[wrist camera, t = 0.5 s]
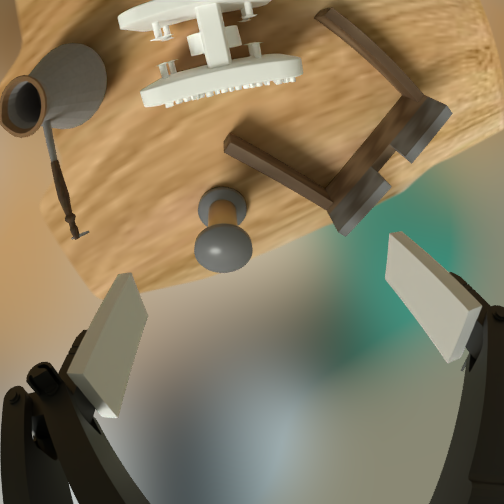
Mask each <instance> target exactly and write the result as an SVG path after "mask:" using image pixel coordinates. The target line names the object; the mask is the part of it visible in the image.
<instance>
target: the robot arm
mask: <svg viewBox="0 0 504 504" xmlns="http://www.w3.org/2000/svg"><path fill="white" fill-rule="evenodd" d="M385 279H386V281H387V282H388V283H389V284H390V286H391V287H392V288H393V289H394V291H395V292H396V293H397V295H398V296H399V297H400V298H401V300H402V301H403V302H404V304H405V305H406V306H407V308H408V309H409V310H410V311H411V313H412V314H413V315H414V317H415V318H416V320H417V321H418V322H419V324H420V325H421V326H422V328H423V329H424V330H425V332H426V333H427V335H428V336H429V337H430V339H431V340H432V342H433V343H434V345H435V346H436V347H437V349H438V350H439V352H440V353H441V355H442V356H443V358H444V359H445V361H446V362H447V363H450V362H452V361H454V360H457V359H459V358H461V356H462V353H463V351H464V349H465V347H466V348H467V350H468V351H469V355H468V357H467V359H466V361H465V363H464V365H463V367H462V369H461V371H463V370H464V368H465V367H466V370H465V377H464V384H463V390H462V396H461V402H460V407H459V412H458V416H457V420H456V425H455V429H454V433H453V437H452V440H451V444H450V448H449V451H448V454H447V457H446V461H445V464H444V467H443V470H442V473H441V475H440V478H439V481H438V484H437V486H436V489H435V491H434V494H433V496H432V499H431V501H430V503H429V504H504V307H501V306H496V305H494V306H490V305H489V304H488V303H487V302H486V301H485V300H484V299H483V298H482V297H481V296H480V295H479V294H478V293H477V292H476V291H475V290H473V289H472V287H471V286H470V285H469V284H468V285H467V283H466V281H464V280H463V279H462V278H461V277H460V276H458V275H456V274H454V273H452V272H447V271H446V270H445V269H444V268H443V267H442V266H441V265H440V264H439V263H438V262H437V261H435V260H434V259H433V258H432V257H431V256H430V255H429V254H428V253H426V252H425V251H424V250H423V249H422V248H420V247H419V246H418V245H417V244H416V243H415V242H414V241H413V240H411V239H410V238H409V237H407V236H406V235H405V234H404V233H403V232H395V233H390V234H389V247H388V257H387V267H386V275H385ZM147 318H148V314H147V312H146V309H145V307H144V304H143V302H142V299H141V297H140V294H139V291H138V289H137V286H136V284H135V281H134V278H133V276H132V273H124V274H118V276H117V277H116V279H115V281H114V283H113V284H112V286H111V288H110V289H109V291H108V293H107V295H106V297H105V298H104V300H103V302H102V304H101V306H100V307H99V309H98V311H97V313H96V315H95V317H94V319H93V321H92V322H91V324H90V326H89V328H88V330H83V331H82V332H81V333H80V334H79V335H78V337H76V339H75V341H74V343H73V345H72V348H70V351H69V354H68V355H67V357H66V359H65V361H64V363H63V365H62V367H61V369H60V371H59V373H57V372H56V370H55V369H54V367H53V366H52V365H51V364H50V363H48V362H41V363H39V364H37V365H35V366H34V367H33V368H32V369H31V370H30V371H29V373H28V375H27V380H26V381H27V383H28V384H29V385H30V387H31V388H32V389H33V390H34V391H35V392H34V393H29V394H28V393H27V392H26V391H25V390H24V388H23V387H21V386H15V387H13V388H11V389H10V390H9V391H8V392H7V393H6V395H5V397H4V402H3V411H2V424H1V481H2V493H3V503H4V504H73V500H72V496H71V492H70V488H69V484H70V486H71V488H72V490H73V492H74V495H75V497H76V499H77V501H78V503H79V504H150V503H149V501H148V500H147V499H146V497H145V496H144V495H143V493H142V492H141V491H140V489H139V488H138V487H137V485H136V484H135V483H134V481H133V480H132V478H131V477H130V475H129V474H128V472H127V471H126V469H125V468H124V466H123V465H122V463H121V461H120V460H119V458H118V457H117V455H116V453H115V452H114V450H113V448H112V447H111V445H110V443H109V442H108V440H107V438H106V436H105V434H104V433H103V431H102V429H101V427H100V425H99V424H98V422H97V420H96V419H95V418H94V417H93V415H94V412H95V409H96V410H97V412H98V413H99V414H100V415H101V416H102V417H109V418H118V417H119V413H120V409H121V405H122V401H123V397H124V394H125V390H126V386H127V383H128V379H129V375H130V372H131V369H132V365H133V362H134V359H135V355H136V352H137V349H138V345H139V342H140V339H141V336H142V333H143V330H144V327H145V324H146V321H147ZM32 434H33V437H32ZM68 482H69V483H68Z"/></svg>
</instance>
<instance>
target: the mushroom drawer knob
mask: <svg viewBox="0 0 504 504" xmlns="http://www.w3.org/2000/svg"><path fill="white" fill-rule="evenodd" d="M198 214H199V217H200V219H201V221H202V222H203V223H204V224H205V225H206V226H207V228H205V229H204V230H203V231H202V232H201V233H200V234H199V235H198V237H197V238H196V241H195V249H194V253H195V257H196V259H197V261H198V262H199V263H200V264H201V265H202V266H203V267H204V268H206V269H208V270H210V271H213V272H219V273H227V272H232V271H236V270H238V269H240V268H242V267H243V266H244V265H246V264H247V263H248V261H249V260H250V258H251V256H252V243H251V239H250V237H249V235H248V234H247V232H246V231H244V230H243V229H242V228H240V227H238V225H239V224H241V222H242V221H243V220H244V218H245V216H246V203H245V200H244V198H243V196H242V195H241V194H240V193H239V192H238V191H236V190H235V189H232V188H229V187H216V188H213V189H211V190H209V191H207V192H206V193H205V194H204V195H203V196H202V197H201V199H200V202H199V207H198Z"/></svg>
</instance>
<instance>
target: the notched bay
mask: <svg viewBox="0 0 504 504" xmlns="http://www.w3.org/2000/svg"><path fill="white" fill-rule="evenodd" d="M315 19H316V20H317V21H319V22H320V23H322V24H323V25H324V26H326V27H327V28H328V29H330V30H331V31H332V32H334V33H335V34H336V35H337V36H339V37H340V38H341V39H342V40H344V41H345V42H346V43H347V44H349V45H350V46H351V47H352V48H353V49H355V50H356V51H357V52H358V53H359V54H360V55H361V56H363V57H364V58H365V59H366V60H367V61H368V62H369V63H370V64H371V65H373V66H374V67H375V68H376V69H377V70H378V71H379V72H380V73H381V74H382V75H383V76H384V77H385V78H386V79H387V80H388V81H389V82H390V83H391V84H392V85H393V86H394V87H395V88H396V89H397V90H398V91H399V92H400V93H401V94H402V97H401V98H400V99H399V100H398V102H397V103H396V104H395V105H394V106H393V108H392V109H391V110H390V111H389V113H388V114H387V115H386V116H385V117H384V119H383V120H382V121H381V122H380V124H379V125H378V126H377V127H376V128H375V130H374V131H373V132H372V133H371V135H370V136H369V137H368V138H367V139H366V141H365V142H364V143H363V144H362V145H361V147H360V148H359V149H358V150H357V151H356V153H355V154H354V155H353V156H352V157H351V159H350V160H349V161H348V162H347V163H346V165H345V166H344V167H343V168H342V169H341V171H340V172H339V173H338V174H337V175H336V177H335V178H334V179H333V180H332V181H331V183H330V184H329V185H328V186H327V187H326V189H324V188H323V187H321V186H320V185H318V184H317V183H315V182H313V181H312V180H310V179H309V178H307V177H306V176H304V175H302V174H301V173H299V172H297V171H296V170H294V169H293V168H291V167H289V166H288V165H286V164H284V163H283V162H281V161H279V160H278V159H276V158H274V157H273V156H271V155H269V154H267V153H266V152H264V151H262V150H260V149H259V148H257V147H255V146H253V145H252V144H250V143H248V142H246V141H244V140H243V139H241V138H239V137H237V136H235V135H233V134H232V133H229V134H228V136H227V137H226V139H225V140H224V153H226V154H228V155H230V156H232V157H233V158H235V159H237V160H239V161H241V162H243V163H245V164H247V165H249V166H250V167H252V168H254V169H256V170H258V171H260V172H261V173H263V174H265V175H267V176H269V177H270V178H272V179H274V180H276V181H277V182H279V183H281V184H283V185H284V186H286V187H288V188H290V189H291V190H293V191H295V192H297V193H298V194H300V195H302V196H303V197H305V198H307V199H308V200H310V201H312V202H313V203H315V204H317V205H318V206H320V207H322V208H323V209H325V210H327V212H328V214H329V216H330V218H331V219H332V221H333V223H334V225H335V227H336V229H337V231H338V232H339V233H341V234H342V235H344V236H347V235H348V234H349V233H350V232H351V231H352V230H353V229H354V228H355V226H356V225H357V224H358V223H359V222H360V221H361V220H362V219H363V218H364V217H365V216H366V215H367V214H368V212H369V211H370V210H371V209H372V208H373V207H374V206H375V205H376V204H377V203H378V201H379V200H380V199H381V198H382V197H383V196H384V195H385V194H386V193H387V191H388V190H389V189H390V188H391V187H392V186H391V185H390V184H389V183H388V182H387V181H386V180H385V179H384V178H383V177H382V176H381V175H380V174H379V173H378V171H379V170H380V169H381V168H382V167H383V166H384V164H385V163H386V162H387V161H388V160H389V158H390V157H391V156H392V155H393V154H394V153H395V151H397V152H398V153H400V154H401V155H402V156H403V157H404V158H406V159H407V160H408V161H409V162H410V163H413V161H414V160H415V159H416V158H417V157H418V156H419V154H420V153H421V152H422V151H423V150H424V148H425V147H426V146H427V145H428V144H429V142H430V141H431V140H432V139H433V137H434V136H435V135H436V134H437V132H438V131H439V130H440V129H441V127H442V126H443V125H444V124H445V122H446V121H447V120H448V119H449V117H450V116H451V115H452V114H453V113H452V112H451V110H450V109H449V108H448V106H447V105H445V104H443V103H441V102H439V101H436V100H434V99H432V98H430V97H427V96H425V95H424V94H423V93H422V92H421V91H420V90H419V89H418V87H417V86H416V85H415V84H414V83H413V82H412V81H411V79H410V78H409V77H408V76H407V75H406V74H405V73H404V72H403V71H402V70H401V69H400V67H399V66H398V65H397V64H396V63H395V62H394V61H393V60H392V59H391V58H390V57H389V56H388V55H387V54H386V53H385V52H384V51H383V50H382V49H381V48H380V47H378V46H377V45H376V44H375V43H374V42H373V41H372V40H371V39H370V38H369V37H368V36H366V35H365V34H364V33H363V32H362V31H361V30H360V29H358V28H357V27H356V26H355V25H354V24H352V23H351V22H350V21H349V20H348V19H346V18H345V17H344V16H343V15H341V14H340V13H339V12H337V11H336V10H335V9H333V8H332V7H331V8H327V9H324V10H321V11H320V12H319V13H318V14H317V15H316V16H315Z"/></svg>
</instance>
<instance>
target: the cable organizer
mask: <svg viewBox="0 0 504 504" xmlns="http://www.w3.org/2000/svg"><path fill="white" fill-rule="evenodd" d="M270 1H271V0H152V1H149V2H146V3H143V4H141V5H138V6H135V7H133V8H130V9H128V10H126V11H124V12H123V13H121V14H120V15H119V16H118V21H119V25H120V29H122V30H132V31H141V32H146V31H151V30H153V31H154V35H155V39H153V40H151V41H155V40H162V41H166V40H170V39H172V37H171V35H173V34H171V33H170V29H169V25H173V24H176V23H180V22H184V21H188V20H192V19H196V18H197V22H198V27H199V31H200V32H199V33H195V34H192V35H189V36H187V40H188V44H189V49H190V53H191V56H195V55H199V54H204V53H205V57H206V61H207V65H204V66H200V67H196V68H192V69H188V70H184V71H180V72H177V71H176V67H175V63H174V61H175V60H171V61H169V62H164V63H161V64H159V65H157V66H159V68H160V72H161V76H162V78H161V79H159V80H157V81H155V82H154V83H152V84H150V85H149V86H147V87H145V88H144V89H142V90H141V91H140V93H141V97H142V100H143V103H144V106H145V107H153V106H158V105H162V104H165V105H166V108H168V107H171V106H174V104H173V101H175V102H176V104H180V103H182V102H183V99H184V102H187V101H190V100H191V99H192V100H195V99H196V97H197V100H199V98H203V97H205V93H206V96H207V97H210V96H213V95H214V94H213V91H215V94H220V90H221V93H226V92H228V88H229V91H230V92H232V91H234V87H235V90H241V89H242V87H241V86H242V85H243V88H244V89H247V88H249V84H250V88H253V87H255V86H257V87H258V86H262V85H263V84H262V82H263V83H264V84H265V85H270V82H269V81H273V82H274V83H275V84H276V85H277V84H282V82H284V83H285V82H286V83H288V82H295V81H296V79H295V77H297V76H300V75H302V74H303V68H302V61H301V58H300V57H297V56H291V55H285V54H264V55H261V49H260V44H259V43H262V42H254V43H248V44H245V45H248V49H249V54H250V57H244V58H238V59H233V60H232V59H231V54H230V49H229V48H232V47H236V46H240V45H242V42H241V38H240V35H239V31H238V27H237V25H233V26H227V27H225V26H224V21H223V17H222V13H224V12H230V11H236V10H241V14H242V17H239V18H242V19H243V20H242V21H238V22H247V21H250V20H251V19H249V18H250V17H254V16H255V15H254V14H253V9H252V8H255V7H260V6H264V5H266V4H268V3H269V2H270ZM256 15H257V14H256ZM161 28H163V31H164V35H165V36H162V32H161ZM173 38H175V37H173ZM177 60H178V59H177ZM166 63H168V65H169V68H170V72H171V74H170V75H169V74H168V70H167V67H166ZM155 67H156V66H155ZM254 83H255V85H254Z"/></svg>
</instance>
